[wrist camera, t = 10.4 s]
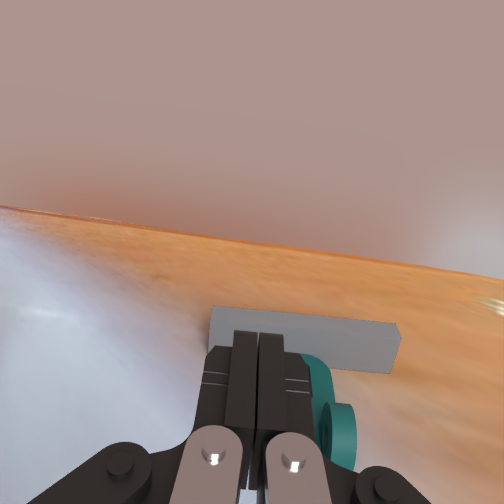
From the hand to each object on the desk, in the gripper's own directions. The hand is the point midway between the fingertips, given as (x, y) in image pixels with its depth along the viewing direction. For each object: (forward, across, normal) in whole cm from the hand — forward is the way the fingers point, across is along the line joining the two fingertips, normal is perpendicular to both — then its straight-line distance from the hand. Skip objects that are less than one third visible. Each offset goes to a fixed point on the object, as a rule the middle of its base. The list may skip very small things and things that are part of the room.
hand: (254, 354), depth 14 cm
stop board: (+36, -8, +32) cm, 49 cm away
